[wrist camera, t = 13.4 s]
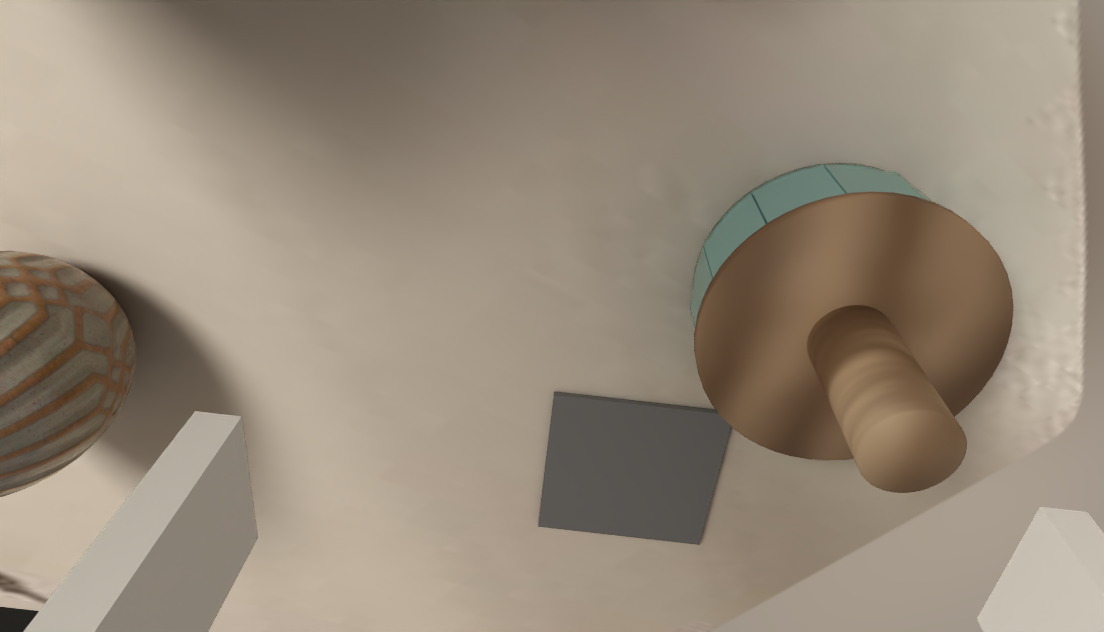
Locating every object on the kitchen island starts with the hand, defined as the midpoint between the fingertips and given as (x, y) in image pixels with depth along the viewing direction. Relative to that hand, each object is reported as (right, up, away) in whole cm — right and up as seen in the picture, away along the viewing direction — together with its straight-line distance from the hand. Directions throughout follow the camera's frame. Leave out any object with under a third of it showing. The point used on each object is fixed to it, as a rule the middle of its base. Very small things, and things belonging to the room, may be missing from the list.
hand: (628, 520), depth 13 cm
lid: (+14, +2, +27) cm, 31 cm away
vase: (-33, +4, +37) cm, 49 cm away
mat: (+4, -7, +40) cm, 41 cm away
